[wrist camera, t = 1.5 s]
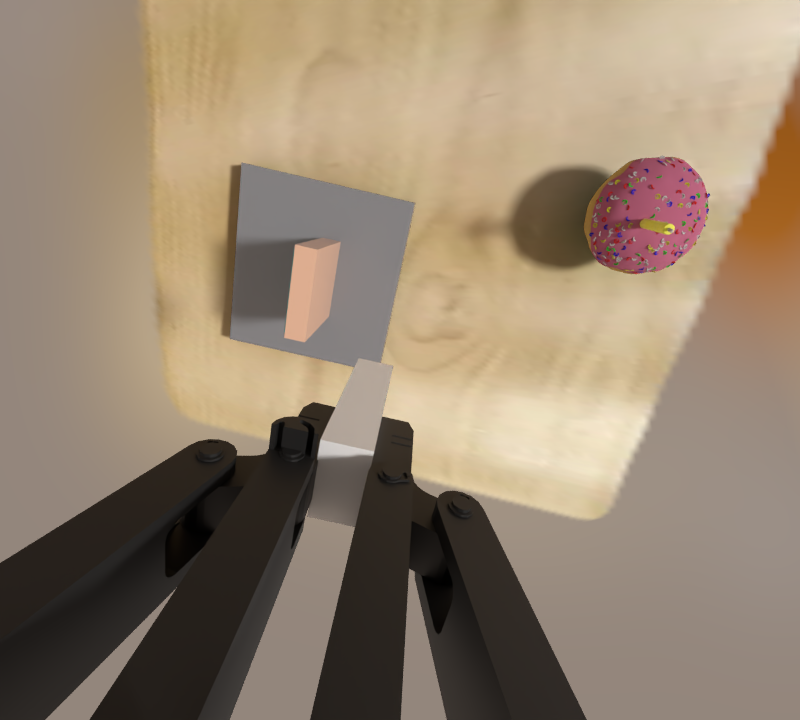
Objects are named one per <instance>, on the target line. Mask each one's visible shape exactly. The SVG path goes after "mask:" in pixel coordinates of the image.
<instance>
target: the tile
mask: <svg viewBox="0 0 800 720" xmlns="http://www.w3.org/2000/svg"><path fill="white" fill-rule="evenodd" d="M340 243H341V242H340V241H336V240H331V239H327V238H319V239H315V240H311V241H307V242H303V243H299V244H295V248H294V251H293V260H292V268H291V277H290V285H289V294H288V302H287V311H286V320H285V328H284V333H285V335H284V338H288V339H292V340H296V341H301V342H306V341H307V339H308V338H309V337H310V336H311V335H312V334H313V333H314V332H315V331H316V330H317V329H318V328H319V327H320V326H321V325H322V323H323V322H324V321H325V320H326V319H327V318H328V317H329V313H330V307H331V300H332V294H333V288H334V281H335V275H336V269H337V262H338V256H339V250H340Z"/></svg>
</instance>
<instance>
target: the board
mask: <svg viewBox="0 0 800 720" xmlns="http://www.w3.org/2000/svg"><path fill="white" fill-rule="evenodd" d="M414 207H415V203H413V202H408V201H404V200H400V199H395V198H391V197H387V196H383V195H378V194H374V193H370V192H365V191H361V190H357V189H353V188H348V187H344V186H340V185H335V184H331V183H327V182H323V181H318V180H314V179H310V178H305V177H301V176H297V175H293V174H288V173H284V172H280V171H275V170H271V169H267V168H263V167H258V166H254V165H250V164H245V163H242V164H241V179H240V194H239V209H238V224H237V239H236V254H235V269H234V284H233V299H232V314H231V329H230V339H233V340H237V341H241V342H246V343H250V344H255V345H259V346H264V347H268V348H272V349H277V350H281V351H286V352H290V353H294V354H299V355H303V356H308V357H312V358H317V359H321V360H325V361H330V362H334V363H339V364H343V365H347V366H352V367H355V365H356V363H357V361H358V358H361V359H365V360H370V361H374V362H379V363H381V360H382V356H383V351H384V346H385V342H386V337H387V332H388V328H389V323H390V319H391V314H392V309H393V305H394V300H395V295H396V291H397V286H398V281H399V277H400V272H401V267H402V263H403V258H404V253H405V249H406V244H407V240H408V235H409V230H410V226H411V221H412V216H413V212H414ZM319 238H327V239H331V240H336V241H340V242H341V243H340V250H339V256H338V262H337V269H336V275H335V281H334V288H333V294H332V300H331V307H330V313H329V317H328V318H327V319H326V320H325V321H324V322H323V323H322V325H321V326H320V327H319V328H318V329H317V330H316V331H315V332H314V333H313V334H312V335H311V336H310V337H309V338H308V339H307V341H306V342H301V341H296V340H292V339H288V338H284V335H285V333H284V328H285V320H286V311H287V302H288V294H289V285H290V277H291V268H292V260H293V251H294V248H295V244H299V243H303V242H307V241H311V240H315V239H319Z"/></svg>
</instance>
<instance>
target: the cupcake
mask: <svg viewBox="0 0 800 720" xmlns="http://www.w3.org/2000/svg"><path fill="white" fill-rule="evenodd" d="M709 195H710V194H707V192H706V189H705V185H704V183H703V181H702V179H701V177H700V176H699V174H698V173H697V172H696V171H695V170H694V169H693V168H692V167H691V166H690V165H689V164H687V163H686V162H685V161H684V160H682V159H680V158H675V157H664V156H660V157H659V158H643V159H637V160H633V161H630V162H628V163H627V164H625V165H624V166H623V167H622V168H620V169H619V170H618V171H616V172H615V173H614V174H613V175H612V176H611V177H609V178H608V179H607V180H606V181H605V182H604V183H603V184H602V185H601V187H600V188H599V189H598V190H597V192H596V193H595V194H594V196H593V197H592V199H591V201H590V203H589V205H588V208H587V212H586V218H585V222H584V232H585V235H586V238H587V241H588V244H589V248H590V250H591V252H592V254H593V256H594V257H595V258H596V260H597V261H598V262H599V263H601V264H602V265H604V266H607V267H609V268H610V269H612V270H615V271H619V272H623V273H628V274H640V273H646V272H655V271H659V270H662V269H664V268H665V267H669V266H670V265H673V264H674V263H675V261H677V260H678V259H679V258H681V257H682V256H683V255H685V254H686V253H687V252H688V251H689V250H690V249H691V248H692V247H693V245H695V244H696V241H697V239H698V238H699V237H700V233H701V231H702V229H703V227H705V221H706V220H707V214H708V211H709V209H708V197H709Z"/></svg>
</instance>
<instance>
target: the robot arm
mask: <svg viewBox="0 0 800 720" xmlns="http://www.w3.org/2000/svg"><path fill="white" fill-rule="evenodd" d="M392 369H393V366H392V365H387V364H383V363H379V362H374V361H370V360H365V359H361V358H358V361H357V363H356V365H355V367H354V369H353V371H352V373H351V375H350V378H349V380H348V382H347V384H346V386H345V388H344V390H343V393H342V395H341V397H340V399H339V401H338V403H337V405H336V407H332V406H328V405H323V404H319V403H314V402H313V403H311V404H309V405H307V406H305V407H304V408H303V409H302V411H301V412H300V414H299V416H298V417H284V418H281V419H278V420H276V421H275V422H273V423H272V426H271V435H270V444H269V449H268V451H267V452H266V454H263V455H258V456H237V450H236V448H235V447H234V445H232V444H230V443H229V442H226V441H222V440H213V439H208V440H203V441H198V442H196V443H194V444H191V445H189V446H188V447H186V448H184V449H183V450H181V451H180V452H178V453H176V454H175V455H173V456H172V457H170V458H168V459H167V460H165V461H164V462H162V463H160V464H159V465H157V466H156V467H154V468H152V469H151V470H149V471H147V472H146V473H144V474H143V475H141V476H139V477H138V478H136V479H135V480H133V481H131V482H130V483H128V484H127V485H125V486H124V487H122V488H120V489H119V490H117V491H115V492H114V493H112V494H111V495H109V496H107V497H106V498H104V499H103V500H101V501H99V502H98V503H96V504H94V505H93V506H91V507H90V508H88V509H87V510H85V511H83V512H82V513H80V514H78V515H77V516H75V517H74V518H72V519H70V520H69V521H67V522H65V523H64V524H62V525H61V526H59V527H57V528H56V529H54V530H53V531H51V532H50V533H48V534H46V535H45V536H43V537H41V538H40V539H38V540H37V541H35V542H33V543H32V544H30V545H28V546H27V547H25V548H24V549H22V550H20V551H19V552H17V553H16V554H14V555H13V556H11V557H9V558H8V559H6V560H4V561H3V562H1V563H0V720H45V719H46V718H47V717H48V716H49V715H50V714H51V713H52V712H53V711H54V710H55V709H56V708H57V707H58V706H59V705H60V704H61V703H62V702H63V701H64V700H65V699H66V698H67V697H68V696H69V695H70V694H71V693H72V692H73V691H74V690H75V689H76V688H77V687H78V686H79V685H80V684H81V683H82V682H83V681H84V680H85V679H86V678H87V677H88V676H89V675H90V674H91V673H92V672H93V671H94V670H95V669H96V668H97V667H98V666H99V665H100V664H101V663H102V662H103V661H104V660H105V659H106V658H107V657H108V656H109V655H110V654H111V653H112V652H113V651H114V650H115V649H116V648H117V647H118V646H119V645H120V644H121V643H122V642H123V641H124V640H125V639H126V638H127V637H128V636H129V635H130V634H131V633H132V632H133V631H134V630H135V629H136V628H137V627H138V626H139V625H140V624H141V623H142V622H143V621H144V620H145V619H146V618H147V617H148V616H149V614H151V613H152V612H153V611H154V610H155V609H156V608H157V607H158V606H159V605H160V604H161V603H162V602H163V601H164V600H165V599H166V598H167V597H168V596H169V595H170V594H171V593H172V592H173V590H175V589H176V590H175V592H174V593H173V595H172V596H171V598H170V599H169V601H168V603H167V604H166V605H165V607H164V608H163V610H162V611H161V613H160V614H159V616H158V617H157V619H156V620H155V622H154V623H153V625H152V627H151V628H150V629H149V631H148V632H147V634H146V635H145V637H144V638H143V640H142V642H141V643H140V645H139V646H138V648H137V649H136V650H135V652H134V654H133V655H132V657H131V658H130V659H129V661H128V663H127V664H126V666H125V667H124V669H123V670H122V672H121V673H120V675H119V676H118V678H117V679H116V681H115V682H114V684H113V685H112V687H111V688H110V690H109V691H108V693H107V694H106V696H105V697H104V699H103V700H102V702H101V703H100V705H99V706H98V708H97V709H96V711H95V712H94V714H93V715H92V717H91V718H90V720H230V717H231V715H232V712H233V709H234V707H235V704H236V702H237V699H238V697H239V694H240V691H241V689H242V686H243V684H244V681H245V678H246V676H247V673H248V671H249V668H250V665H251V663H252V660H253V658H254V655H255V652H256V650H257V647H258V645H259V642H260V640H261V637H262V634H263V632H264V629H265V627H266V624H267V621H268V619H269V616H270V614H271V611H272V608H273V606H274V603H275V601H276V598H277V595H278V593H279V590H280V588H281V585H282V582H283V580H284V577H285V575H286V572H287V570H288V567H289V564H290V562H291V559H292V557H293V554H294V551H295V549H296V546H297V543H298V541H299V539H300V536H301V533H302V531H303V525H304V520H305V515H306V513H307V510H308V508H309V510H308V517H312V518H317V519H321V520H326V521H330V522H335V523H339V524H344V525H348V526H353V527H355V530H354V534H353V538H352V543H351V547H350V551H349V556H348V560H347V564H346V568H345V573H344V577H343V581H342V586H341V590H340V594H339V598H338V603H337V607H336V611H335V616H334V620H333V624H332V628H331V633H330V637H329V641H328V646H327V650H326V654H325V659H324V663H323V667H322V672H321V675H320V680H319V684H318V688H317V693H316V697H315V701H314V706H313V710H312V714H311V719H310V720H401V702H402V683H403V666H404V647H405V629H406V611H407V593H408V592H407V591H408V575H409V569H411V570H413V571H415V581H416V585H417V590H418V594H419V599H420V603H421V607H422V612H423V616H424V620H425V625H426V629H427V634H428V638H429V643H430V647H431V651H432V656H433V660H434V664H435V669H436V674H437V678H438V682H439V687H440V691H441V696H442V700H443V704H444V709H445V713H446V717H447V720H587V719H586V717H585V716H584V713H583V711H582V709H581V707H580V705H579V703H578V701H577V699H576V697H575V695H574V693H573V691H572V689H571V687H570V685H569V683H568V681H567V679H566V677H565V675H564V673H563V671H562V668H561V666H560V664H559V662H558V660H557V658H556V656H555V654H554V652H553V650H552V648H551V646H550V644H549V642H548V640H547V638H546V636H545V634H544V632H543V630H542V628H541V626H540V624H539V622H538V619H537V617H536V615H535V613H534V611H533V609H532V607H531V605H530V603H529V601H528V599H527V597H526V595H525V593H524V591H523V589H522V587H521V585H520V583H519V581H518V579H517V577H516V575H515V573H514V571H513V568H512V567H511V564H510V562H509V560H508V559H507V556H506V554H505V552H504V550H503V548H502V546H501V544H500V542H499V540H498V538H497V536H496V534H495V532H494V530H493V528H492V526H491V524H490V521H489V519H488V517H487V515H486V513H485V511H484V509H483V508H482V506H481V505H480V504H479V502H478V501H476V500H475V499H474V498H473V497H471V496H469V495H467V494H465V493H463V492H458V491H446V492H444V493H442V494H440V495H439V497H438V498H436V497H434V496H432V495H430V494H428V493H426V492H424V491H423V490H421V489H420V488H419V487H418V486H417V485H416V484H415V483H414V480H413V476H412V474H411V464H412V447H413V432H414V431H413V429H412V428H411V426H410V424H409V423H408V422H404V421H399V420H395V419H390V418H386V417H382V414H383V410H384V405H385V401H386V396H387V392H388V387H389V383H390V378H391V374H392ZM176 587H177V588H176Z"/></svg>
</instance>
